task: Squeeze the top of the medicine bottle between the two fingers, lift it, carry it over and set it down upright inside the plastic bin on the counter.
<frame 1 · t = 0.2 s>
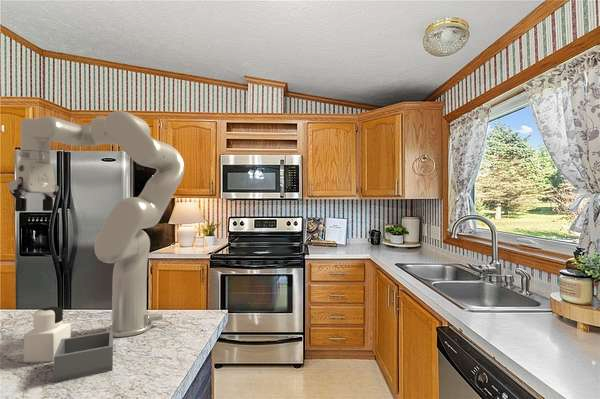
hand: (34, 211, 106), 37 cm above the countertop, tool pointing down, fingers open, 9 cm apart
bin: (86, 365, 80), on the countertop
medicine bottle: (47, 356, 85), on the countertop
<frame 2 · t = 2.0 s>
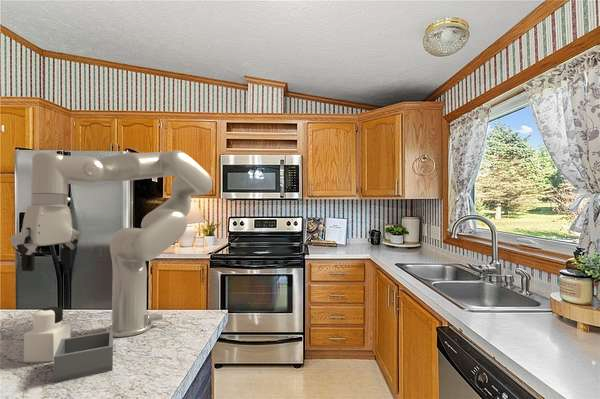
hand: (48, 267, 85), 23 cm above the countertop, tool pointing down, fingers open, 9 cm apart
nothing on the countertop moved.
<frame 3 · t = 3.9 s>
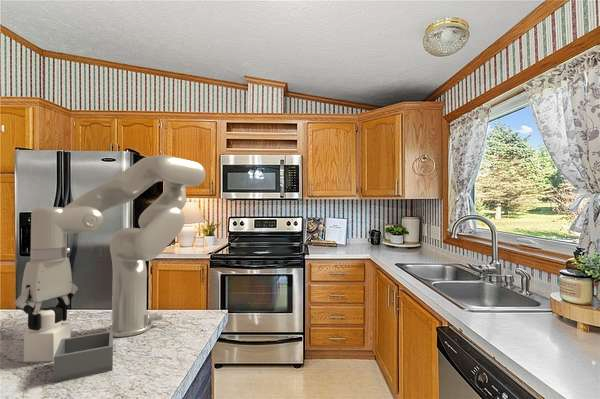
hand: (48, 324, 85), 8 cm above the countertop, tool pointing down, fingers closed on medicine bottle, 6 cm apart
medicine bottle: (47, 356, 85), on the countertop, touching gripper
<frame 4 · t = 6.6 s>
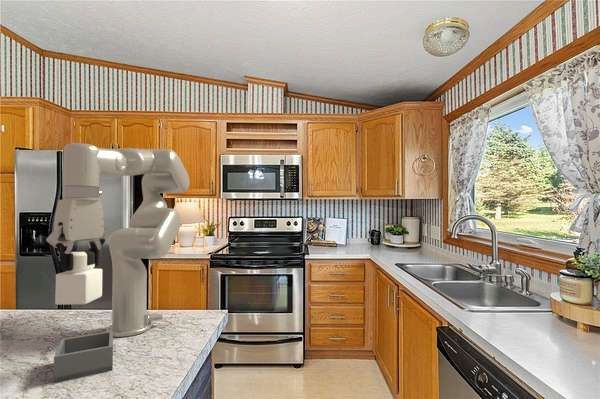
hand: (80, 267, 81), 24 cm above the countertop, tool pointing down, fingers closed on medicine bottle, 6 cm apart
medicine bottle: (79, 301, 81), point 15 cm above the countertop, touching gripper
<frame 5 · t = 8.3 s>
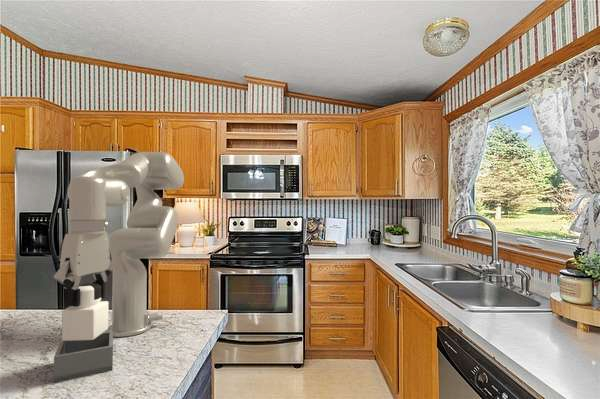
hand: (86, 301, 80), 16 cm above the countertop, tool pointing down, fingers closed on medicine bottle, 6 cm apart
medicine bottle: (86, 335, 80), point 7 cm above the countertop, touching gripper
when the fingers open (11 cm above the countertop, at t = 9.6 s): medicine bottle drops 2 cm, resting on bin.
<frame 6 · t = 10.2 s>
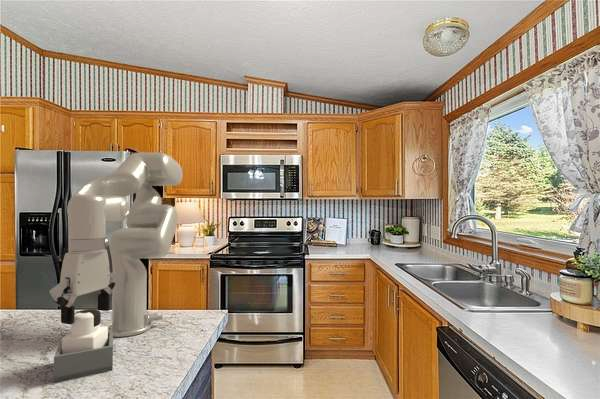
hand: (86, 316, 80), 12 cm above the countertop, tool pointing down, fingers open, 9 cm apart
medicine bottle: (85, 362, 80), point 1 cm above the countertop, touching bin
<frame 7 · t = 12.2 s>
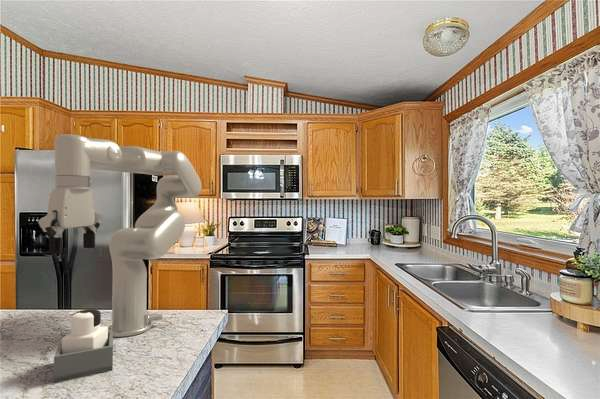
hand: (73, 250, 84), 27 cm above the countertop, tool pointing down, fingers open, 9 cm apart
nothing on the countertop moved.
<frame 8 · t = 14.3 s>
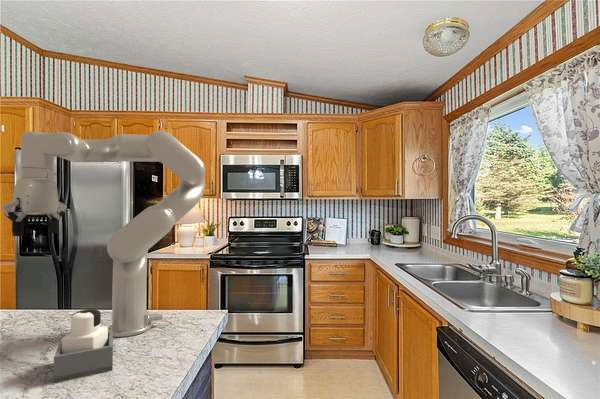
hand: (36, 234, 95), 30 cm above the countertop, tool pointing down, fingers open, 9 cm apart
nothing on the countertop moved.
at the end: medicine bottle 0.1 cm off-centre on the bin, point 0.8 cm above the bin's base; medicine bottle tilted 0°; the gripper is holding nothing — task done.
